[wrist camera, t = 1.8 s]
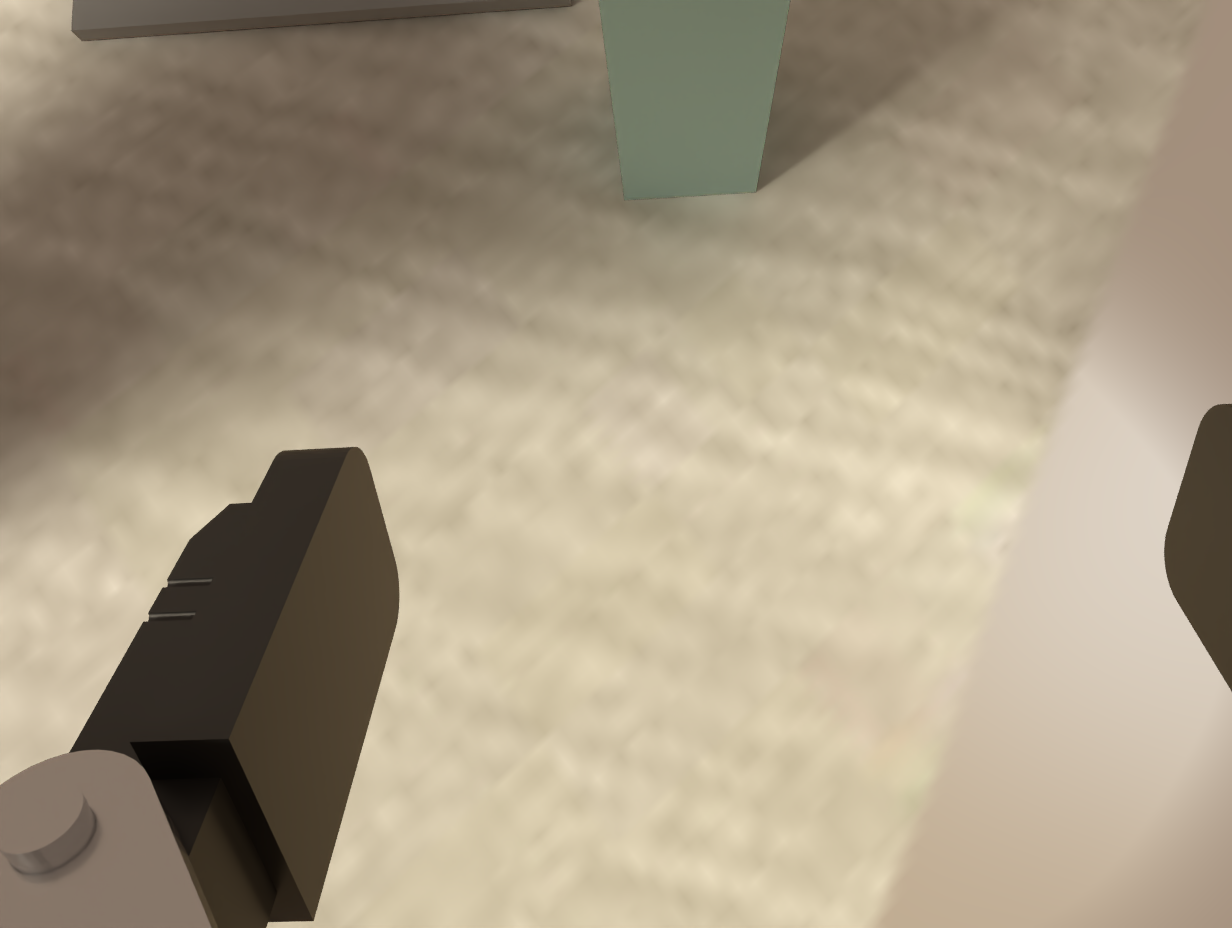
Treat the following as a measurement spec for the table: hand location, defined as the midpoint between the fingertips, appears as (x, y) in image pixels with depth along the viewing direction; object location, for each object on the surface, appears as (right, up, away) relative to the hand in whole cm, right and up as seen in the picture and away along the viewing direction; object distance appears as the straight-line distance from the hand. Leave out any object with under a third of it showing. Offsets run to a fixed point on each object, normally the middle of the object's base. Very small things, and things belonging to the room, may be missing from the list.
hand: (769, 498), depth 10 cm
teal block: (0, +9, +17) cm, 20 cm away
